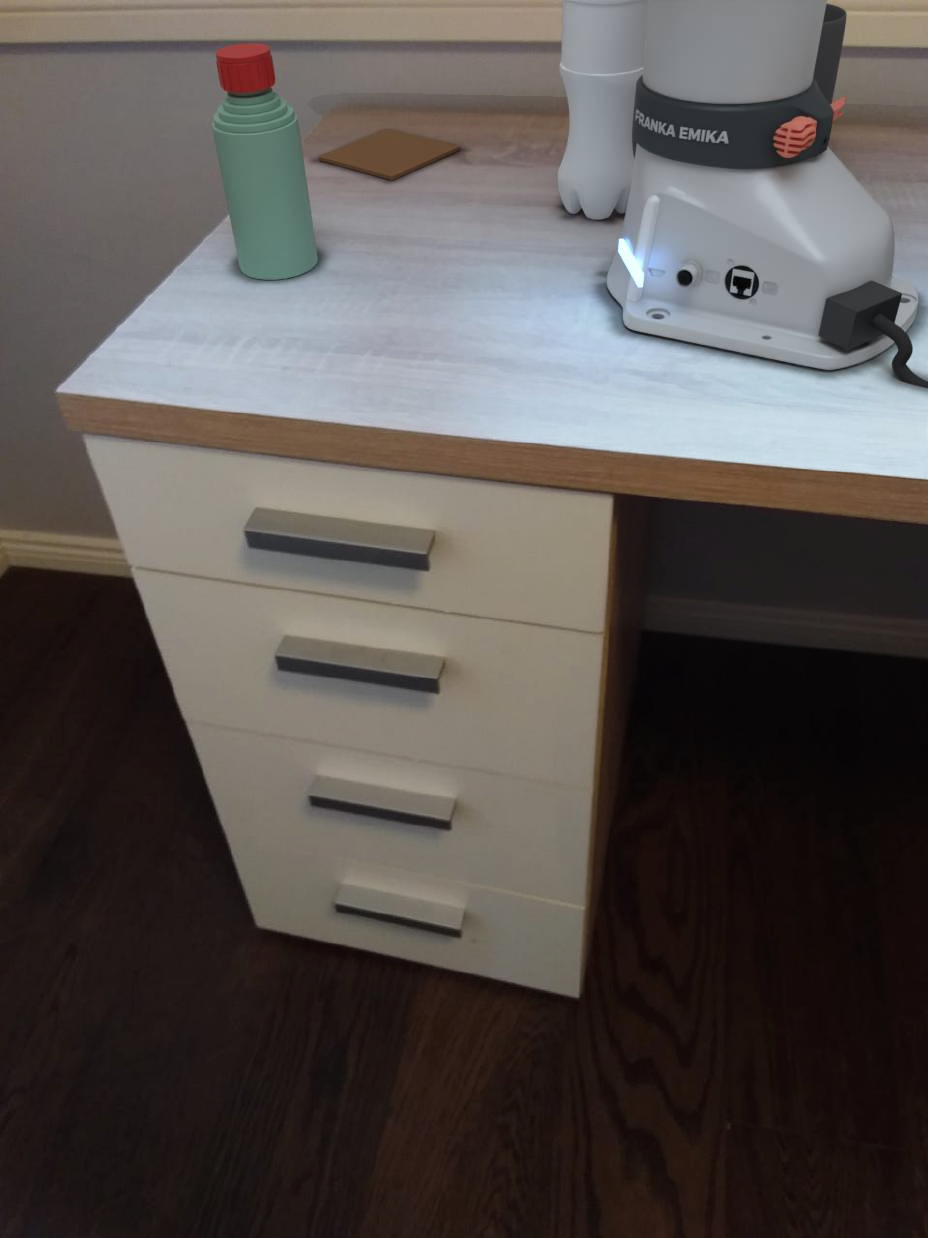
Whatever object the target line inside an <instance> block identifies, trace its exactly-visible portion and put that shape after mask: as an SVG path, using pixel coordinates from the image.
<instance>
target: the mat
mask: <svg viewBox="0 0 928 1238" xmlns="http://www.w3.org/2000/svg"><path fill="white" fill-rule="evenodd" d="M459 151H461V146H460V145H457V144H453V143H449V142H444V141H441V140H436V139H431V138H428V137H424V136H419V135H415V134H411V133H407V132H403V131H400V130H399V131H398V130H394V129H390V128H386V129H383V130H381V131H378V132H376V133H374V134H371V135H369V136H366V137H364V138H363V137H362V138H360V139H358V140H356V141H353V142H351V143H348V144H346V145H343V146H342V147H339V148H336V149H334V150H331V151H329V152H327V153H323V154H321V155H319V156H318V160H319V161H321V162H324V163H328V164H330V165H331V164H332V165H334V166H338V167H342V168H346V169H349V170H353V171H356V172H361V173H365V174H368V175H372V176H374V177H379V178H381V179H386V180H389V181H395V180H396V179H399V178H401V177H403V176H405V175H408V174H410V173H412V172H415V171H417V170H418V169H421V168H424V167H425V166H428V165H430V164H433V163H435V162H437V161H439V160H441V159H444V158H445V157H448V156H450V155H452V154H453V155H454V154H455V153H458V152H459Z"/></svg>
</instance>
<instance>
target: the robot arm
mask: <svg viewBox="0 0 928 1238" xmlns="http://www.w3.org/2000/svg"><path fill="white" fill-rule="evenodd" d="M826 3H827V4H828V0H648V10H647V24H646V38H645V52H644V66H643V75H642V76H641V77H639V79H638V80H637V83H636V91H635V101H634V111H633V125H632V148H633V155H634V158H635V161H634V168H633V175H632V182H631V188H630V194H629V199H628V204H627V210H626V213H625V215H624V219H623V222H622V223H623V224H622V229H621V231H620V236H619V238H618V243H617V246H616V250H615V253H614V256H613V259H612V262H611V265H610V267H609V269H608V272H607V275H606V287H607V289H608V291H609V293H610V295H611V296H612V297H613V298H614V299H615V300H616V302H618V303H619V305H620V307H621V308H622V321H623V324H624V326H625V327H626V328H628V329H629V330H632V331H636V332H638V333H639V332H640V333H644V334H648V335H653V336H657V337H663V338H668V339H674V340H677V341H678V340H679V341H683V342H687V343H692V344H698V345H703V346H707V347H712V348H716V349H720V350H726V351H731V352H736V353H741V354H745V355H751V356H756V357H760V358H765V359H770V360H775V361H780V362H783V363H789V364H795V365H799V366H804V367H810V368H814V369H817V370H818V369H820V370H826V371H830V370H831V371H833V370H834V371H835V370H838V369H844V368H847V367H852V366H855V365H858V364H862V363H863V362H866V361H868V360H870V359H872V358H874V357H877V356H878V355H880V354H881V353H883V352H884V351H886V350H887V349H889V348H891V347H892V346H893V345H894V344H895V345H896V348H897V351H896V354H895V355H894V357H893V358H892V361H891V368H892V370H893V373H894V374H895V375H896V376H897V378H898V379H899V380H900V381H901V382H903V383H905V384H908V385H911V386H915V387H920V388H924V389H928V380H925V379H924V378H923V377H920V376H918V375H917V374H916V373H914V371H912V369H911V368H910V367H909V366H908V364H907V363H908V361H909V360H910V358H911V357H912V355H913V350H914V346H913V343H912V340H911V338H910V336H909V335H908V334H907V331H909V329H910V328H911V326H912V324H913V323H914V322H915V319H916V317H917V313H918V307H919V301H920V300H919V293H918V290H917V288H916V286H915V285H914V284H913V283H912V282H909V281H907V280H904V279H901V278H899V277H896V276H893V273H894V272H893V271H894V264H895V263H894V260H895V248H896V246H895V245H896V243H895V242H896V241H895V228H894V223H893V219H892V218H891V215H890V214H889V212H888V211H887V210H886V208H884V207H883V206H882V205H881V204H880V203H879V202H878V201H877V200H876V199H875V198H874V197H873V195H872V194H871V193H870V192H869V191H868V190H867V189H866V187H864V185H862V183H860V181H859V180H858V179H857V178H856V176H854V175H853V173H852V172H851V171H850V170H849V169H848V167H847V166H845V164H844V163H843V162H842V161H841V160H840V158H839V157H838V156H837V155H836V154H835V153H834V151H832V149H831V148H830V147H829V144H830V143H829V142H830V138H831V134H832V129H833V128H832V127H833V122H834V121H836V120H837V119H839V118H841V117H842V116H843V115H844V113H845V111H843V110H842V111H841V109H843V107H844V106H845V104H846V102H847V97H846V96H842V97H840V98H838V99H836V100H835V101H834V102H832V104H829V103H828V101H827V100H826V98H825V97H824V95H823V94H822V92H821V91H820V89H819V87H818V84H817V82H816V80H815V79H814V77H813V75H814V69H815V64H816V58H817V53H818V47H819V41H820V36H821V31H822V25H823V20H824V14H825V9H826Z"/></svg>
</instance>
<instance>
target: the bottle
mask: <svg viewBox="0 0 928 1238" xmlns="http://www.w3.org/2000/svg"><path fill="white" fill-rule="evenodd" d="M221 101H222V104H220V105H219V106H218V108H217V111H216V112H215V113H214V114H213V118H212V120H213V121H212V122H211V130H212V134H213V140H214V145H215V150H216V155H217V160H218V165H219V170H220V175H221V180H222V185H223V190H224V196H225V201H226V205H227V210H228V215H229V221H230V226H231V232H232V235H233V240H234V245H235V250H236V255H237V260H238V266H239V270H240V272H242V274H244V275H245V276H247V277H249V278H251V279H256V280H264V281H265V280H266V281H274V280H275V281H276V280H286V279H289V278H294V277H297V276H301V275H303V274H306V273H308V272H309V271H311V270H312V269H313V268H315V267H316V266H317V263H318V261H319V257H318V256H319V255H318V250H317V244H316V237H315V229H314V222H313V215H312V209H311V200H310V194H309V188H308V180H307V174H306V172H307V171H306V167H305V166H306V165H305V159H304V151H303V145H302V138H301V131H300V124H299V119H298V118H299V117H298V114H296V112H295V111H294V107H292V106H291V105H290V104H288V103H287V101H286V100H285V99H284V98H282V97H280V94H279V93H278V92H275V91H274V90H273V88H272V87H270V88H268V89H265V90H262V91H257V92H251V93H232V92H227V91H226V97H224V98H223V99H222V100H221Z"/></svg>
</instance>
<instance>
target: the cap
mask: <svg viewBox="0 0 928 1238" xmlns="http://www.w3.org/2000/svg"><path fill="white" fill-rule="evenodd" d="M214 54H215V59H216V61H215V64H216V70H217V74H218V79H219V86H220V88H221V89H222V90H223V91H224V92H226V93H227V92H232V93H251V92H257V91H262V90H265V89H268V88H270V87H271V88H272V87H274V86H275V84H276V81H277V80H276V73H275V66H274V61H273V55H272V53H271V48H270V45H267V44H263V43H255V42H247V43H235V44H231V45H227V46H224V47H221V48H219V49H217V50H216V51H215V53H214Z"/></svg>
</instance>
